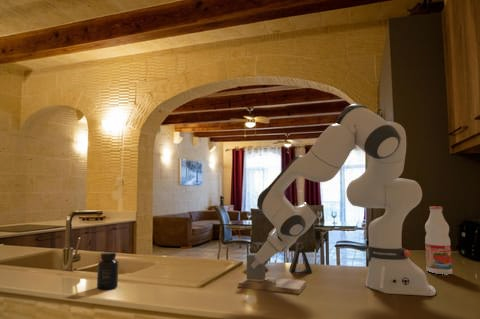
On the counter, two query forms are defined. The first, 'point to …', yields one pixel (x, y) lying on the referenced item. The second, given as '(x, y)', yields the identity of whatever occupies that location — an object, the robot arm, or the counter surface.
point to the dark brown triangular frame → (295, 260)
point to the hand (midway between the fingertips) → (254, 265)
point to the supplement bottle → (107, 271)
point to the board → (275, 285)
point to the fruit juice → (437, 243)
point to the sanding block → (255, 269)
